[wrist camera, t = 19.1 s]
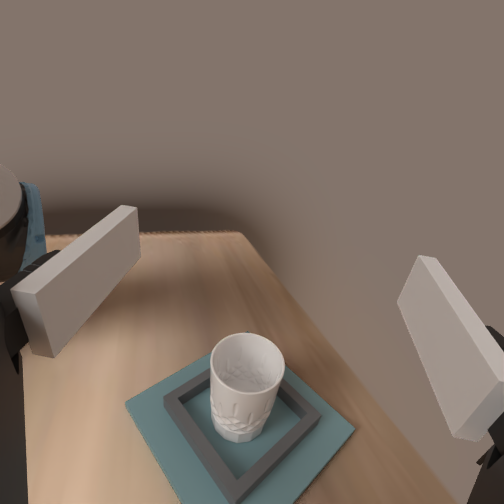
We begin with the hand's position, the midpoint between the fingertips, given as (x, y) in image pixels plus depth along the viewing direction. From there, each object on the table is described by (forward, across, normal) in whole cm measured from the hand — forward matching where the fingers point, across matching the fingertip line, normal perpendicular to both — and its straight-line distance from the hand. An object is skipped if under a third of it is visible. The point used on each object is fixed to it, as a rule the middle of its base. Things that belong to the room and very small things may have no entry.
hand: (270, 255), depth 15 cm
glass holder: (+10, 0, -30) cm, 32 cm away
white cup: (+10, 0, -29) cm, 31 cm away
